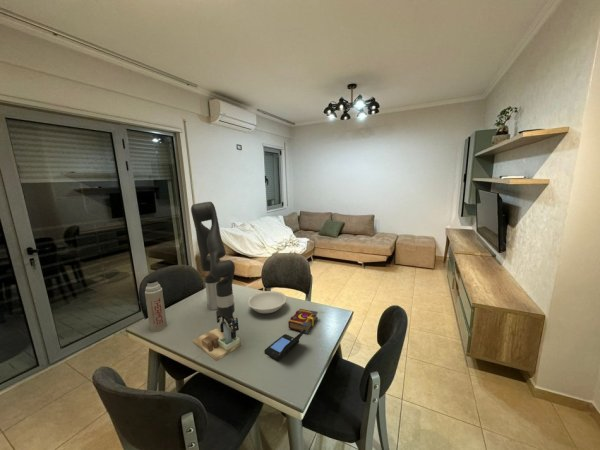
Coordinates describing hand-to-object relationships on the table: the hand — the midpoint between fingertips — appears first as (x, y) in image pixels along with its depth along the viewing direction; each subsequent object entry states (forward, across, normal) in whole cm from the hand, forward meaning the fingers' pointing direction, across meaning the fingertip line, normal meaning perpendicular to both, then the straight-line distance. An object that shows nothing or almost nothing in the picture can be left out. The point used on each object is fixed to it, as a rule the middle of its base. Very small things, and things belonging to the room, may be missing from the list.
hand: (228, 334), depth 115 cm
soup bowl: (+6, +11, -35) cm, 37 cm away
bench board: (+6, +6, +3) cm, 9 cm away
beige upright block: (+5, +7, +5) cm, 10 cm away
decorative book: (+6, -16, -37) cm, 41 cm away
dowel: (+4, 0, 0) cm, 4 cm away
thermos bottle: (+6, +44, +15) cm, 47 cm away
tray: (+5, 0, 0) cm, 5 cm away
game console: (+6, -23, -15) cm, 28 cm away
